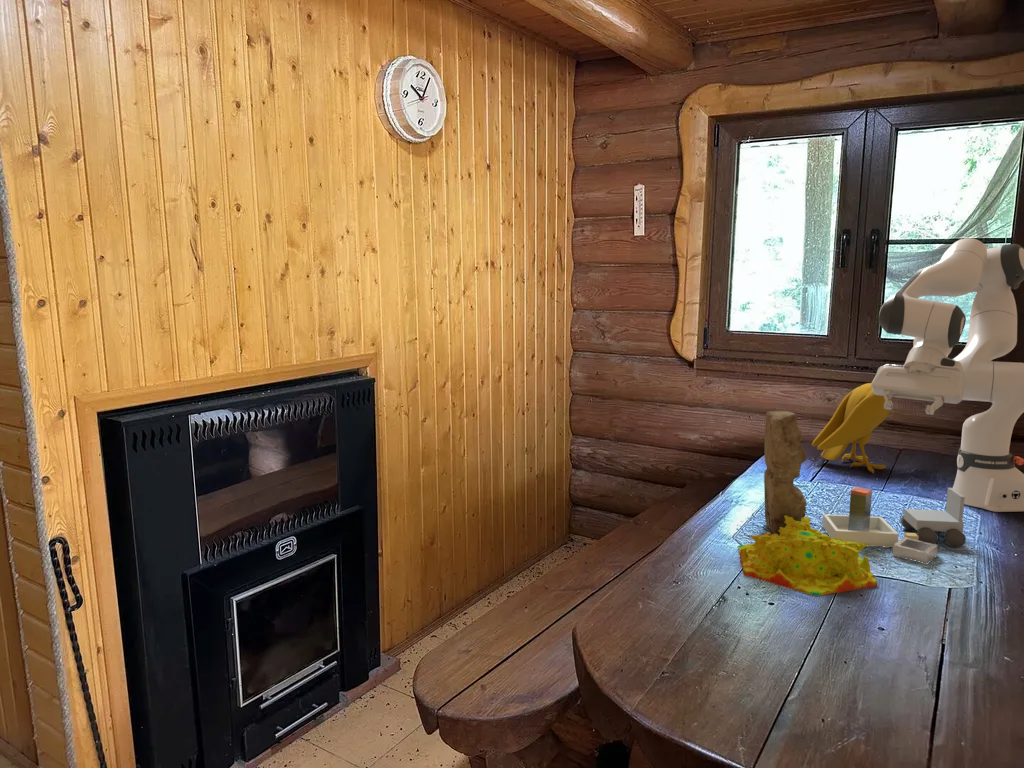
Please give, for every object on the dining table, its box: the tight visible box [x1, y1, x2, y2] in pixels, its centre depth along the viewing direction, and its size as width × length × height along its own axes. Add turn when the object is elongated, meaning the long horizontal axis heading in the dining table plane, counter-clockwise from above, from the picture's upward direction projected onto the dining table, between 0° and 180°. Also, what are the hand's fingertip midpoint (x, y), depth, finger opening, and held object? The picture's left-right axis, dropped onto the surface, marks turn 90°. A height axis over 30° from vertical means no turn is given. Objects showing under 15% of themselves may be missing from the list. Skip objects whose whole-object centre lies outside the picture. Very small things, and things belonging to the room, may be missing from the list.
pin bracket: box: [891, 536, 939, 564], centre depth 158 cm, size 7×7×2 cm
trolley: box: [900, 487, 967, 548], centre depth 167 cm, size 10×11×12 cm
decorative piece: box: [738, 515, 878, 597], centre depth 153 cm, size 26×8×30 cm
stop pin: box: [848, 486, 873, 531], centre depth 168 cm, size 4×4×11 cm
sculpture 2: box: [811, 382, 906, 474], centre depth 229 cm, size 20×27×30 cm
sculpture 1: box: [763, 410, 807, 535], centre depth 171 cm, size 12×9×30 cm
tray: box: [821, 513, 899, 548], centre depth 169 cm, size 14×12×3 cm
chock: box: [903, 532, 919, 540], centre depth 164 cm, size 2×2×2 cm
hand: (907, 410), depth 172 cm, fingers open, 8 cm apart
